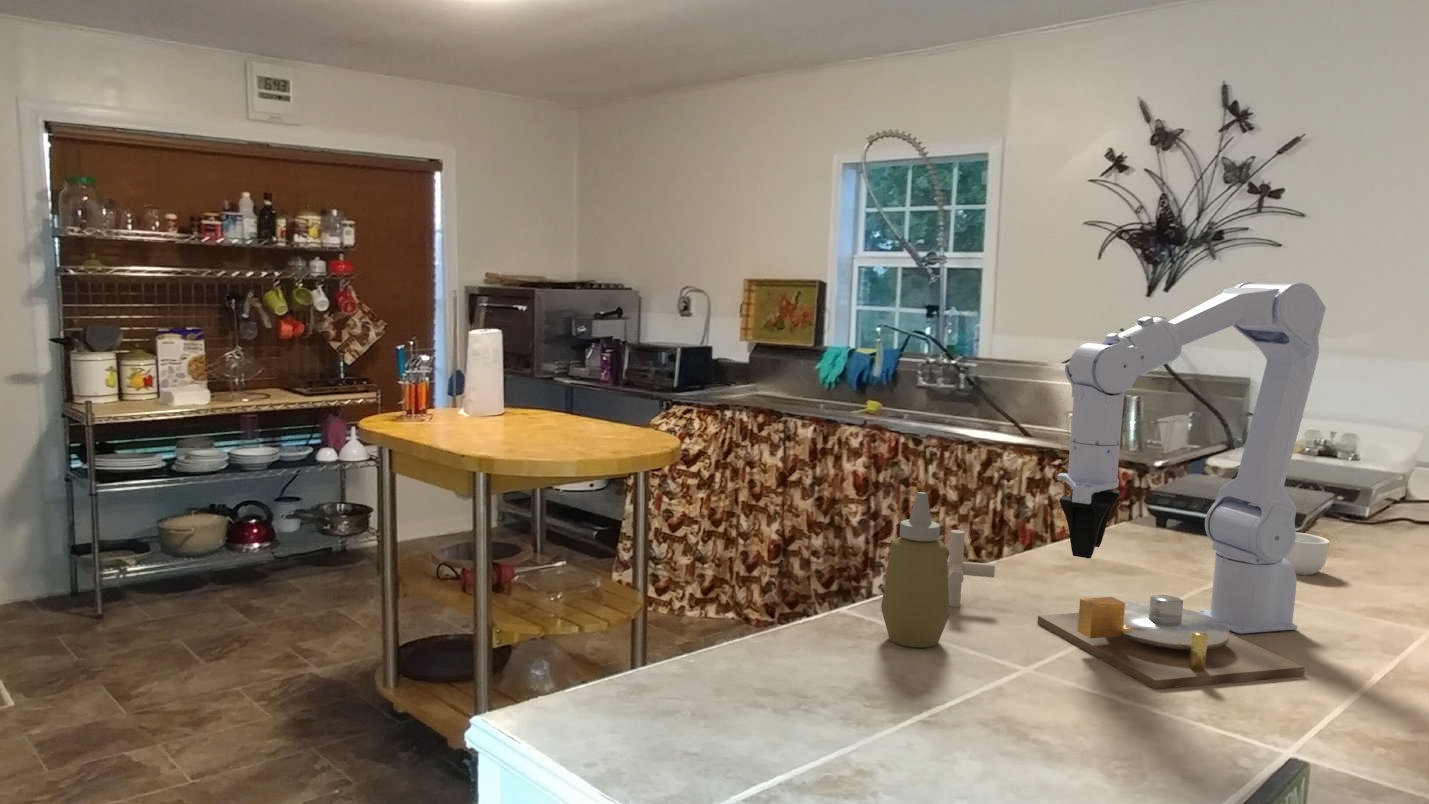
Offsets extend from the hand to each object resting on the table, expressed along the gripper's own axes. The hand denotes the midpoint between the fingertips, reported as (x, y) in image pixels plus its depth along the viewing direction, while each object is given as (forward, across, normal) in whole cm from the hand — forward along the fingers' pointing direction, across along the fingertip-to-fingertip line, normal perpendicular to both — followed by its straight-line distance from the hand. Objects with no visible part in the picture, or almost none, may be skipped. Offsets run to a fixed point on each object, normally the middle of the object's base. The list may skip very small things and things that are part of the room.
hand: (1086, 551), depth 129 cm
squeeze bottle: (+11, +15, -17) cm, 25 cm away
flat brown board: (+10, 0, +10) cm, 14 cm away
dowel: (+10, +8, +14) cm, 19 cm away
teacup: (+11, -52, +23) cm, 57 cm away
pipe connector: (+11, -2, -17) cm, 20 cm away
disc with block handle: (+8, +1, +8) cm, 11 cm away
